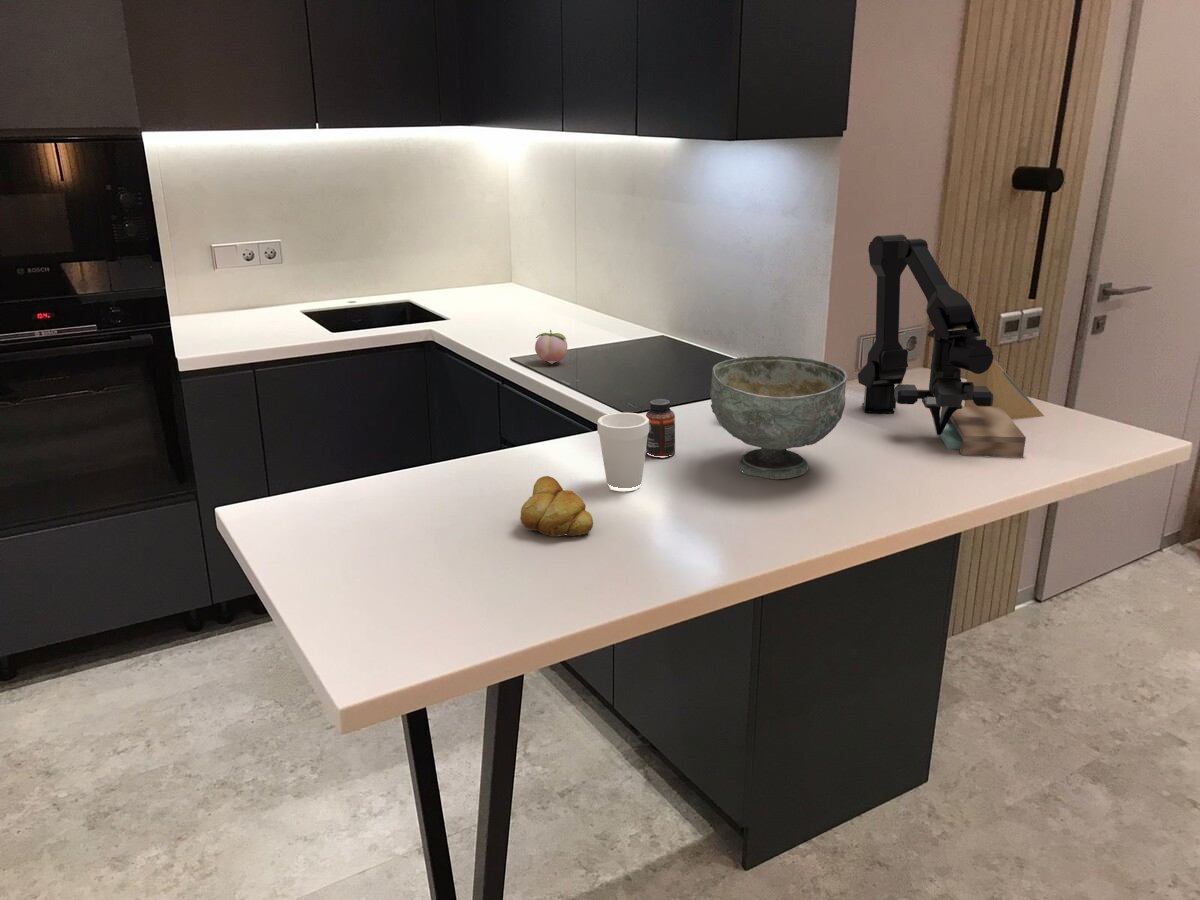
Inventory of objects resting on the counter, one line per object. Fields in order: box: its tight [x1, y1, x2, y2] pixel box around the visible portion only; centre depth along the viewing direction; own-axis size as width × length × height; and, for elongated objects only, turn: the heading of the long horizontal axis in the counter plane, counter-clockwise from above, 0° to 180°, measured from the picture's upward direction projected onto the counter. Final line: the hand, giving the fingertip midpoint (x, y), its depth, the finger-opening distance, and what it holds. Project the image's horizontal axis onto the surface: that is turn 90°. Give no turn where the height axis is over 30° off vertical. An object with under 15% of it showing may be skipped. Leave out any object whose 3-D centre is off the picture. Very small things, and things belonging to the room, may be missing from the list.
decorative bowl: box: [709, 355, 848, 480], centre depth 179 cm, size 26×26×20 cm
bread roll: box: [520, 475, 594, 537], centre depth 156 cm, size 13×10×8 cm
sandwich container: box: [963, 358, 1045, 420], centre depth 209 cm, size 9×15×15 cm, turn 99°
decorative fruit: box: [534, 329, 568, 362], centre depth 262 cm, size 9×8×10 cm
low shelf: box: [947, 406, 1027, 458], centre depth 194 cm, size 12×20×4 cm, turn 171°
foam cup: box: [597, 412, 649, 488], centre depth 173 cm, size 10×9×13 cm
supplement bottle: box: [645, 398, 676, 456], centre depth 189 cm, size 6×6×11 cm
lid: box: [939, 424, 962, 450], centre depth 195 cm, size 12×12×2 cm
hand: (938, 434), depth 196 cm, fingers closed
